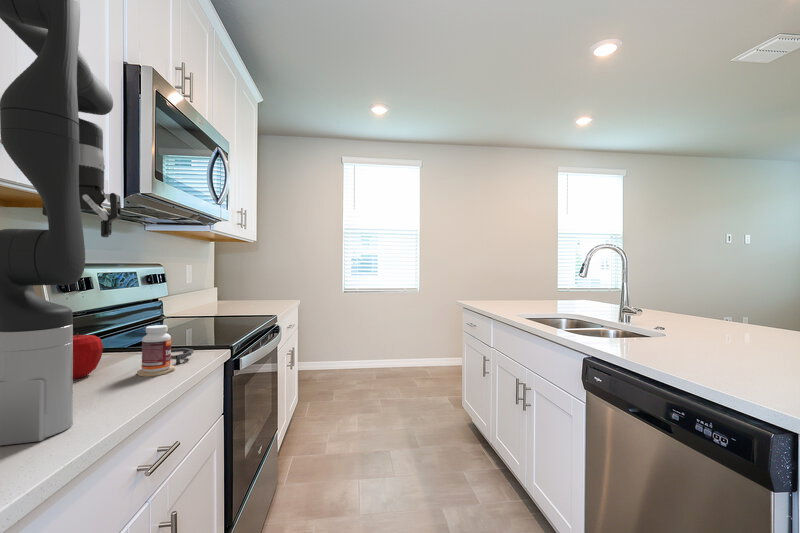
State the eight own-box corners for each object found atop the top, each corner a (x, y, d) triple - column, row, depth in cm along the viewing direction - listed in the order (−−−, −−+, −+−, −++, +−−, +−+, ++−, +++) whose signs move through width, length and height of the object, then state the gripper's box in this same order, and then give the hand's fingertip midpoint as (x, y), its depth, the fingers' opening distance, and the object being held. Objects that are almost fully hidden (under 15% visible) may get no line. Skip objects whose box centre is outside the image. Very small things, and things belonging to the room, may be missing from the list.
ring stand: (188, 363, 102) (188, 355, 102) (147, 366, 99) (147, 357, 99) (195, 355, 111) (195, 347, 111) (158, 357, 108) (158, 349, 108)
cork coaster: (169, 374, 92) (169, 372, 92) (132, 377, 89) (132, 375, 89) (178, 366, 99) (178, 364, 99) (143, 368, 97) (143, 366, 97)
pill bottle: (171, 370, 94) (171, 327, 93) (141, 374, 90) (141, 329, 90) (170, 364, 99) (170, 323, 99) (141, 368, 95) (142, 325, 95)
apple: (113, 371, 94) (113, 329, 94) (74, 383, 85) (74, 336, 85) (80, 370, 96) (80, 328, 96) (38, 381, 86) (38, 335, 86)
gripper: (35, 160, 80) (34, 234, 80) (112, 165, 85) (112, 236, 85) (55, 168, 88) (55, 237, 88) (126, 173, 92) (125, 238, 92)
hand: (83, 236), depth 86 cm, fingers open, 8 cm apart
